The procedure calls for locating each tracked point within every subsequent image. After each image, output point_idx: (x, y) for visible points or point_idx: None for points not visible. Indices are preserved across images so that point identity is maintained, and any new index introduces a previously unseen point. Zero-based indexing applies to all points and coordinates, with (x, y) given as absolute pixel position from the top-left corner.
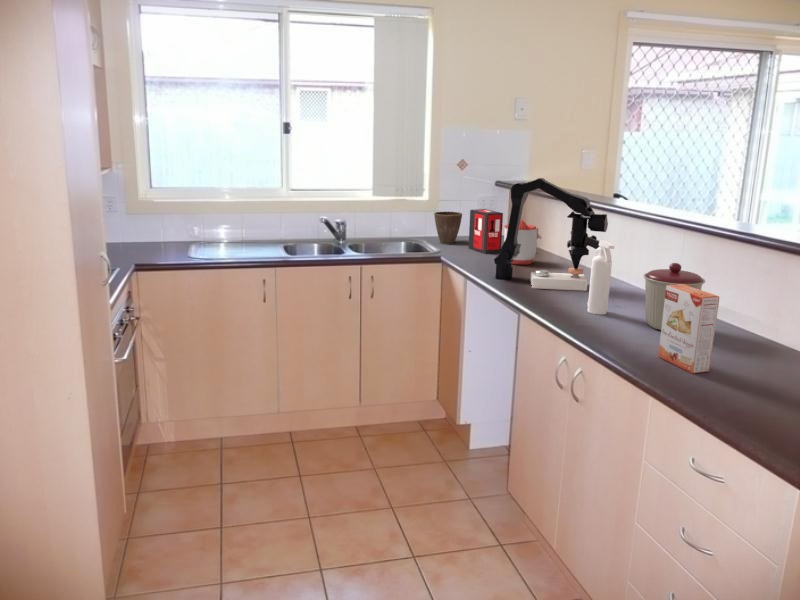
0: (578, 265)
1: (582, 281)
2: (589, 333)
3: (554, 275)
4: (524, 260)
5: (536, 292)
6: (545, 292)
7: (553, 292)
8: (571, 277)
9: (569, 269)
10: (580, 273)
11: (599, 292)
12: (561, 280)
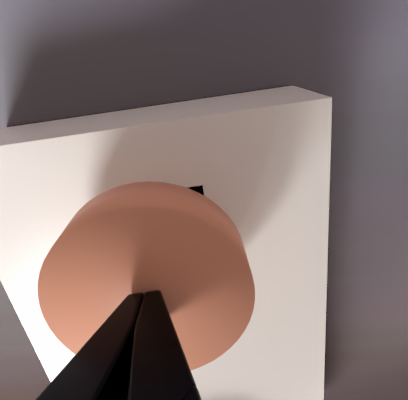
0: (172, 325)
1: (325, 155)
2: None
3: None
4: None
5: (399, 383)
6: (395, 348)
7: (390, 311)
8: None
9: (198, 363)
10: (225, 216)
11: None
12: (322, 332)
